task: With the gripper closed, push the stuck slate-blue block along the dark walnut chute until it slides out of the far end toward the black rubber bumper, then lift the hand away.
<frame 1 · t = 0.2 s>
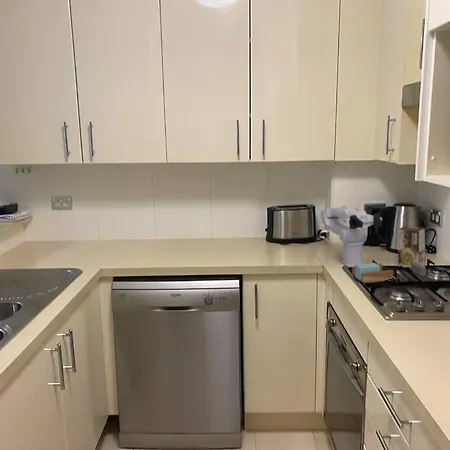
hand: (371, 224, 181), 21 cm above the gas hob, tool horizontal, fingers open, 7 cm apart
bumper: (418, 272, 188), on the gas hob
cookie box: (411, 266, 197), on the gas hob
block: (367, 271, 185), point 3 cm above the gas hob, slide at 0.0 cm
chute: (372, 277, 186), on the gas hob
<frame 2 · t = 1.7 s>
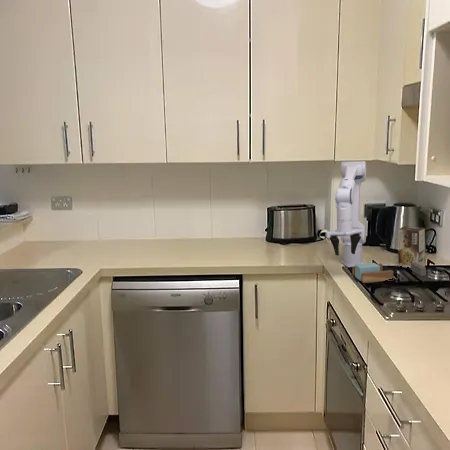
hand: (345, 254, 183), 10 cm above the gas hob, tool pointing down, fingers open, 6 cm apart
nothing on the gas hob moved.
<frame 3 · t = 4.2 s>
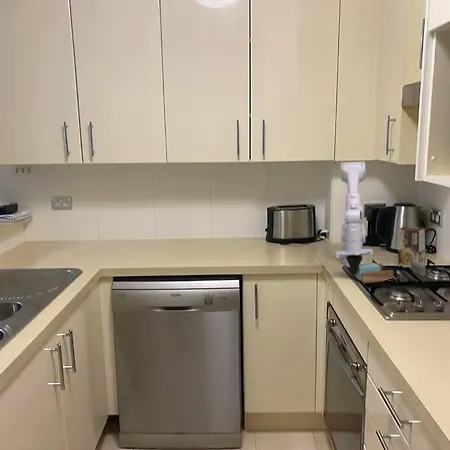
hand: (353, 273, 185), 2 cm above the gas hob, tool pointing down, fingers closed
block: (367, 271, 185), point 3 cm above the gas hob, slide at 0.0 cm, touching gripper
everything else where it was.
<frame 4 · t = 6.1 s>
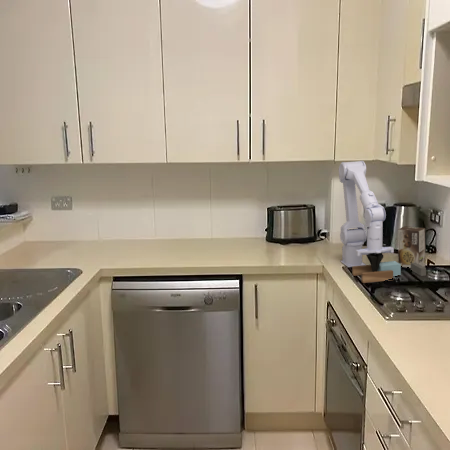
hand: (374, 271, 185), 2 cm above the gas hob, tool pointing down, fingers closed
block: (387, 269, 186), point 3 cm above the gas hob, slide at 8.4 cm, touching gripper
everything else where it was.
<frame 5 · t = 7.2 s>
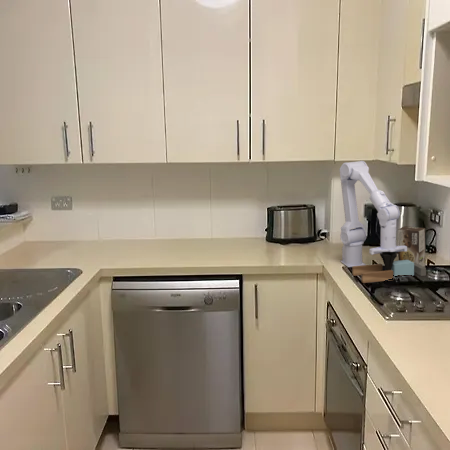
hand: (388, 270, 186), 2 cm above the gas hob, tool pointing down, fingers closed
block: (401, 268, 187), point 3 cm above the gas hob, slide at 13.9 cm, touching gripper
everything else where it was.
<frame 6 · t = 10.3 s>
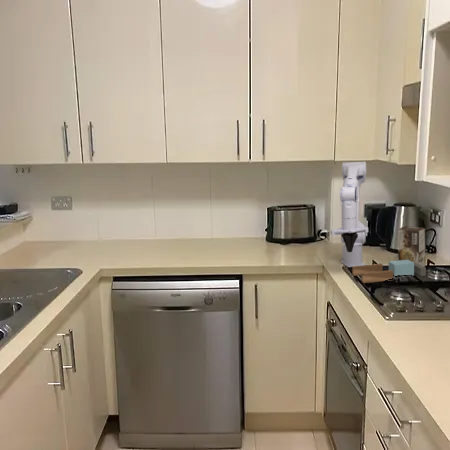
hand: (349, 251, 186), 10 cm above the gas hob, tool pointing down, fingers closed
block: (401, 268, 187), point 3 cm above the gas hob, slide at 13.9 cm
everything else where it was.
at the end: block slide at 13.9 cm; the gripper is holding nothing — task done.
